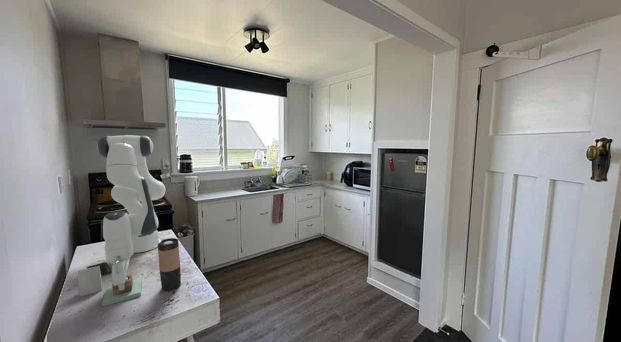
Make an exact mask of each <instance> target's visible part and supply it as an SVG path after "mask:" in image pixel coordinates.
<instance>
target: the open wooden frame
mask: <svg viewBox="0 0 621 342" xmlns="http://www.w3.org/2000/svg"><path fill="white" fill-rule="evenodd" d="M127 277H128V280H125V289H124V290H119V287H118V285H117V286H114V285H113V283H112V284H111V286H112V289H113V295H115V294H118V293H122V292H126V291H130V290H132V285H133V281H134V280H133V274H132V273H130V274H127V275H126V278H127Z"/></svg>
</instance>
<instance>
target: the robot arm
mask: <svg viewBox="0 0 621 342" xmlns="http://www.w3.org/2000/svg"><path fill="white" fill-rule="evenodd" d="M96 147H97V152H98V153H99V155H100V156H101V157H103V158H105V159H106V168H105V169H106V176H107V177H106V178H107V180H108V181H109V183H111V184H112V185H114V186H113V187H112V188H111V193H110V196H111V198H112V199H113V200H114V201H115V202H117V203H119V204H121V205H122V206H123V207H124V208H125V209H126V211H125V210H115V211H112V212H109V213H107V214H105V215H104V216H103V222H102V224H103V225H102V236H103V237H102V238H103V239H104V241H105V244H104V252H105V253H104V254H105V261H106V262H107V261H108V262H110V264H112V265H111V278H112V279H111V280H112V284H113V285H114V286H117V285H118V287H119V290H124V289H125V280H126V275H128V269H129V265H130V264H129V263H130V259H131V257H132V256H133V255H134V253H143V252H144V253H145V252H147V251H148V252H149V251H151V250H152V251H153V250H154V249H156V248H158V243H160V242H161V241H162V240H161V238H160V236H159V231H158V230H157V229H158V228H159V219H158V216H157V214H156V211H155V207H154V204H153V200H157V199H162V198H163V197H164V196H165V194H166V190H167V189H166V186H165V184H164V183H163V182H162V181H160V180H157V179H156V178H154V177H153V176H152V174H150V172H149V169H148V164H147V158H146V157H149V156H150V155H152V154H153V152H154V143H153V140H152V139H151V138H150V137H149V136H147V135H135V134H134V135H133V134H131V135H130V134H125V135H111V136H110V135H106V136H101V137H100V138H98V140H97V144H96Z"/></svg>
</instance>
